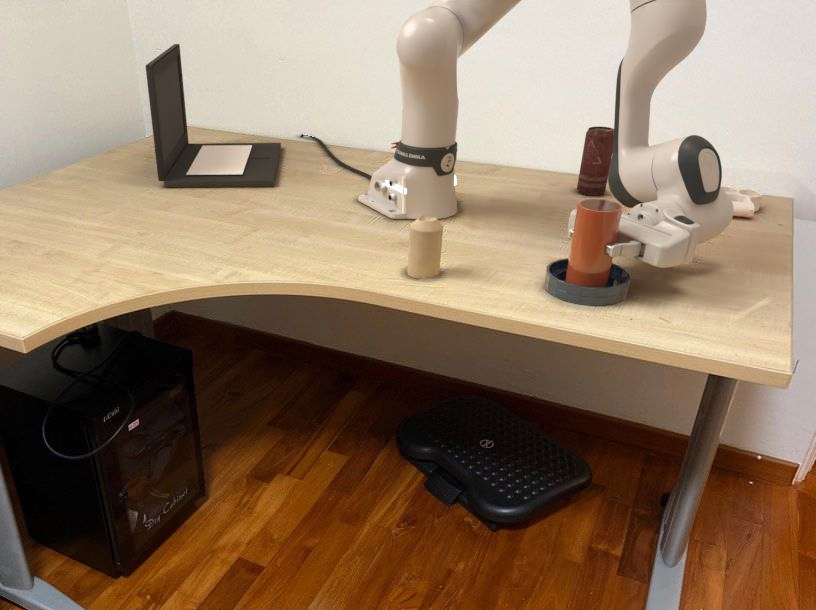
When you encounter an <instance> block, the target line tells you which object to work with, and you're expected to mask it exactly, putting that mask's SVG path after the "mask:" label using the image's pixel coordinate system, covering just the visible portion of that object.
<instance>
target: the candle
mask: <svg viewBox="0 0 816 610" xmlns="http://www.w3.org/2000/svg"><path fill="white" fill-rule="evenodd" d="M443 234H444V225H443V224H442V223H441V222H440V220H439V219H437V218H436V217H434V218H431V217H430V216H428V215H423V216H421V217H420V218H418V219H414V220H413V222H411V223H410V224H409V235H408V236H409V237H408V252H407V253H408V254H407V270H406V272H407V275H408V276H409V277H411V278H413V279H416V280H417V279H418V280H421V279H424V278H434V277H437V276H438V275H439V274H440V272H441V271H440V269H441V261H442V260H441V257H442V248H443V247H442V246H443Z"/></svg>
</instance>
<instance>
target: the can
mask: <svg viewBox="0 0 816 610" xmlns="http://www.w3.org/2000/svg"><path fill="white" fill-rule="evenodd" d="M613 143H614V127H609V126H608V127H607V126H591V127H589V128H588V129H587V131H586V132H585V137H584V143H583V150H582V154H581V162H580V167H579V173H578V174H579V175H578V178H577V179H578V180H577V185H576V186H577V187H576V191H577V193H578V194H580V195H582V196H586V197H600V196H603V195H604V194H605V193H606V190H607V185H608V184H607V183H608V174H609V168H610V164H611V159H612V154H613Z"/></svg>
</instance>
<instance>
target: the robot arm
mask: <svg viewBox="0 0 816 610" xmlns="http://www.w3.org/2000/svg"><path fill="white" fill-rule="evenodd" d="M522 1H523V0H434V2H433V3H432V4H430V5H429V6H428V7H426V8H425V9H422V10H419V11H416V12H414V13H413V14H411V15H410V16H409V17H408V18H407V19H406V20H405V21H404V23H403V25H402V26H401V28H400V30H399V32H398V35H397V38H396V45H395V46H396V47H395V49H396V54H397V57H398V65H399V77H400V78H399V79H400V87H401V101H402V102H401V103H402V106H401V108H402V109H401V112H402V113H401V128H400V129H401V131H400V140H399V141H396V142H391V143H390V144H391V145H393V146H390V149H391V150H393V149H395V151H394V154H393V157H392V158H391V159H389V160H388V161H387V162H386V163H384V164H383V165H382V166H381V167H379V168H378V169H376V170H374V172H373V174H372V175H370V174H369V173H367V172H364V171H362V170H360V169H357V168H354V167H352V166H350V165H348V164H346V163H345V162H343V161H341V160H340V159H338V158H337V157H336V156H335V155H334V154H333V153H332V151H330V149H329V148H328V147H327V146H326V144H325V143H324V142H323V141H322V139H320V138H318V137H316V136H314V137H312V136H308V135H303V133H301V134H300V136H299V137H300V138H304V137H305V136H306V137H309V138H311V139H312V140H314V141H316V142H318V143H319V144H320V145H321V147H322V148H323V149H324V150H325V152H326V153H327V154H328V156H330V158H331V159H332V160H333V161H335V162H336V163H337V164H339V165H340V166H341V167H344V168H346V169H347V170H349V171H352V172H354V173H356V174H358V175H361V176H364V177H366V178H367V179H369V180H370V182H369V190H367V191H365V192H363V193H361V194H360V195H358V198H357V200H358V202H360V203H362V204H363V205H365V206H368V208H371V209H372V210H374V211H377V212H378V213H379V214H382V215H384V216H386V217H388V218H389V219H393V220H405V219H407V220H408V219H409V220H417V219H418V218H420V217H421V216H423V215H428V216H430V217H431V218H434V217H436V218H437V219H438V220H440V219H445V218H449V217H453V216H455V215H456V214H457V213H458V211H459V210H458V209H459V208H458V205H457V204H458V203H457V196H456V185H457V175H456V174H455V166H456V162H457V157H458V142H457V141H456V140H457V130H458V116H459V103H460V101H459V95H458V73H457V71H458V69H457V68H458V67H457V65H458V60H459V59H460V58H461V56H463V55H464V54H465V53H466V52H467V51H468V50H470V49H471V47H473V46H474V45H475V44H476V43H477V42H478V41H479V40H481V38H482V37H484V35H486V34H487V33H488V32H489V31H490V30H491V29H492V28H493V27H494V26H495V25H496V24H497V23H498V22H500V21H501V20H502V19H503V18H504V17H505V16H507V14H508V13H509V12H510V11H512V10H513V9H514V8H515V7H516V6H518V5H519V3H521V2H522ZM629 9H630V11H629V12H630V29H629V30H630V32H629V39H628V42H627V43H628V44H627V48H626V51H625V53H624V56H623V58H622V59H621V61H620V62H619V64H618V70H617V76H616V84H615V86H616V87H615V101H614V102H615V103H614V124H613V129H614V143H613V153H612V159H611V164H610V168H609V174H608V180H607V183H608V184H607V185H608V188H609V191H610V193H611V194H612V196H613V197H614V198H615V200H616V201H618V203H619V204H621V205H622V206H623V207H626V208H629V209H630V210H629V211H628V212H627V213H624V212H622V215H621V220H620V225H619V230H618V235H617V240H616V243H615V242H613V243H609V244H607V245H606V250H605V254H606V255H608V256H611V257H613V258H617V257H626V258H633V259H636V260H638V261H640V262H644V263H645V264H648V265H651V266H653V267H656V268H662V269H667V268H672V267H676V266H681V265H687V264H691V263H692V261H693V258H694V255H695V253H696V252H695V251H696V248H697V246H698V245H701V244H703V243H707V242H709V241H711V240H713V239H716V238H717V237H718V236H720V235H721V234H722V233H724V232H725V231H726V230H727V228H729V226H730V224H731V222H732V220H733V217H734V216H733V212H734V210H733V203H732V201H731V199H730V197H729V196H728V195H727V194H726V193H725V192H724V191H723V190H722V188H721V185H722V179H723V168H722V161H721V157H720V155H719V153H718V151H717V149H716V148H715V146H714V145H713V144H712V142H710V141H709V140H708V139H707V138H705V137H702V136H701V135H698V134H692V135H689V136H683V137H679V138H675V139H671V140H667V141H664V142H661V143H656V144H653V145H649V137H650V136H649V135H650V134H649V133H650V119H651V118H650V117H651V102H652V97H653V94H654V92H655V90H656V89H657V86H658V85H659V84H660V82H662V80H663V79H665V77H666V76H667V74H669V73H670V72H671V71H672V70H673V69H674V68H675V67H676V66H678V65H679V64H681V63H682V62H683V61H684V60H685V59H686V58H687V57H689V56H690V54H691V53H693V51H694V50H695V49H696V47H697V46H698V45H699V44H700V42H701V41H702V38H703V37H704V34H705V30H706V25H707V17H708V16H707V10H708V9H707V0H629ZM576 212H577V208H575V209H573V210H571V211H570V214H569V218H568V225H567V230H568V232H567V240H570V241H572V236H573V230H574V224H575V218H576Z"/></svg>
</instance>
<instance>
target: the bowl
mask: <svg viewBox="0 0 816 610" xmlns="http://www.w3.org/2000/svg"><path fill="white" fill-rule="evenodd" d="M568 259H569V257H567V258H559V259H557V260H554V261H551V262H550V263H548V265H546V267H545V275H544V281H543V289H545V290H546V292H547V294H550V295H551V296H552V297H554V298H557V299H558V300H562V301H565V302H568V303H571V304H572V303H573V304H575V305H584V306H594V307H595V306H609V305H614V304H618V303H620V302H622V301H624V300H625V299H626V298H627V296H628V293H629V290H630V289H629V288H630V285H631V279H632V278H631V273H629V271H627V270H626V268H623V267H621V266H620V265H618V264H615V263H612V265H611V270H610V275H609V280H608V285H607V287H599V288H594V287H584V286H579V285H574V284H570V283H567V282H565V277H566V271H567V265H568Z"/></svg>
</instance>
